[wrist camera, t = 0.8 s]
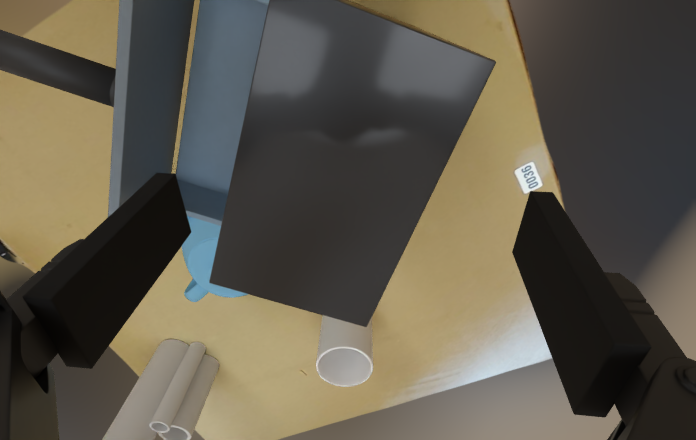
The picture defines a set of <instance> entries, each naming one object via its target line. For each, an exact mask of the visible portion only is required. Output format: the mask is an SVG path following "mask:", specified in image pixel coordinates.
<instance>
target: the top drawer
mask: <svg viewBox="0 0 696 440" xmlns="http://www.w3.org/2000/svg"><path fill="white" fill-rule="evenodd" d="M268 4H269V0H200V4H199V12H198V19H197V26H196V33H195V40H194V48H193V55H192V62H191V69H190V76H189V83H188V91H187V98H186V105H185V112H184V119H183V127H182V134H181V141H180V148H179V155H178V162H177V170H176V177H177V181H178V185H179V188H180V192H181V196H182V199H183V203H184V207H185V210H186V214H187V216H190V217H193V218H196V219H199V220H203V221H206V222H209V223H213V224H216V225H219V226H221V224H222V219H223V215H224V210H225V205H226V201H227V196H228V191H229V187H230V182H231V177H232V173H233V168H234V163H235V159H236V154H237V149H238V145H239V140H240V135H241V130H242V126H243V121H244V116H245V112H246V107H247V102H248V98H249V93H250V88H251V84H252V79H253V74H254V70H255V65H256V60H257V56H258V51H259V46H260V41H261V37H262V32H263V27H264V23H265V18H266V13H267V9H268ZM193 6H194V0H120V2H119V21H118V39H117V58H116V69H114V68H111V67H108V66H105V65H103V64H100V63H97V62H94V61H91V60H88V59H85V58H82V57H79V56H76V55H73V54H70V53H67V52H64V51H61V50H58V49H56V48H53V47H50V46H47V45H44V44H41V43H38V42H35V41H32V40H29V39H26V38H23V37H20V36H17V35H14V34H11V33H8V32H5V31H3V30H0V70H2V71H5V72H8V73H11V74H14V75H17V76H20V77H24V78H27V79H30V80H33V81H36V82H39V83H42V84H45V85H48V86H51V87H54V88H57V89H60V90H63V91H66V92H69V93H72V94H75V95H78V96H81V97H84V98H87V99H91V100H94V101H97V102H100V103H103V104H106V105H109V106H112V107H114V115H113V134H112V152H111V171H110V190H109V209H108V217H109V216H110V215H111V214H112V213H114V212H115V211H116V210H117V209H118V208H119V207H120V206H121V205H122V204H123V203H124V202H125V201H127V200H128V199H129V198H130V197H131V196H132V195H133V194H134V193H135V192H136V191H137V190H138V189H140V188H141V187H142V186H143V185H144V184H145V183H146V182H147V181H148V180H149V179H150V178H151V177H153V176H154V175H155V174H156V173H169V174H171V171H172V164H173V156H174V149H175V141H176V133H177V126H178V118H179V111H180V103H181V96H182V88H183V81H184V73H185V66H186V58H187V51H188V43H189V36H190V28H191V21H192V13H193Z"/></svg>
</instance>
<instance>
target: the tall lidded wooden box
mask: <svg viewBox="0 0 696 440" xmlns="http://www.w3.org/2000/svg"><path fill="white" fill-rule="evenodd" d="M495 64H496V61H495V60H492V59H490V58H487V57H485V56H483V55H480V54H478V53H476V52H473V51H471V50H469V49H466V48H464V47H462V46H459V45H457V44H455V43H452V42H450V41H448V40H445V39H443V38H441V37H438V36H436V35H434V34H431V33H429V32H427V31H424V30H422V29H420V28H417V27H415V26H412V25H410V24H407V23H405V22H402V21H400V20H397V19H394V18H392V17H389V16H387V15H384V14H382V13H379V12H376V11H374V10H371V9H369V8H366V7H364V6H361V5H358V4H356V3H353V2H351V1H348V0H269V4H268V9H267V13H266V18H265V23H264V27H263V32H262V37H261V41H260V46H259V51H258V56H257V60H256V65H255V70H254V74H253V79H252V84H251V88H250V93H249V98H248V102H247V107H246V112H245V116H244V121H243V126H242V130H241V135H240V140H239V145H238V149H237V154H236V159H235V163H234V168H233V173H232V177H231V182H230V187H229V191H228V196H227V201H226V205H225V210H224V215H223V219H222V224H221V229H220V234H219V238H218V243H217V248H216V252H215V257H214V262H213V266H212V271H211V276H210V280H209V283H211V284H215V285H218V286H222V287H225V288H229V289H232V290H236V291H239V292H243V293H246V294H250V295H253V296H257V297H261V298H264V299H268V300H271V301H275V302H278V303H282V304H285V305H289V306H292V307H296V308H299V309H303V310H307V311H310V312H314V313H317V314H321V315H324V316H328V317H331V318H335V319H338V320H342V321H345V322H349V323H353V324H356V325H360V326H363V327H367V326H368V323H369V321H370V319H371V317H372V315H373V313H374V311H375V309H376V307H377V305H378V303H379V301H380V299H381V297H382V295H383V293H384V291H385V289H386V287H387V285H388V283H389V281H390V278H391V276H392V274H393V272H394V270H395V268H396V266H397V264H398V262H399V260H400V258H401V256H402V254H403V252H404V250H405V248H406V246H407V244H408V242H409V240H410V238H411V236H412V234H413V231H414V229H415V227H416V225H417V223H418V221H419V219H420V217H421V215H422V213H423V211H424V209H425V207H426V205H427V203H428V201H429V199H430V197H431V195H432V193H433V191H434V189H435V186H436V184H437V182H438V180H439V178H440V176H441V174H442V172H443V170H444V168H445V166H446V164H447V162H448V160H449V158H450V156H451V154H452V152H453V150H454V148H455V146H456V144H457V141H458V139H459V137H460V135H461V133H462V131H463V129H464V127H465V125H466V123H467V121H468V119H469V117H470V115H471V113H472V111H473V109H474V107H475V105H476V103H477V101H478V99H479V96H480V94H481V92H482V90H483V88H484V86H485V84H486V82H487V80H488V78H489V76H490V74H491V72H492V70H493V68H494V66H495Z"/></svg>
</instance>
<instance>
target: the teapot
mask: <svg viewBox="0 0 696 440" xmlns="http://www.w3.org/2000/svg"><path fill="white" fill-rule="evenodd" d="M187 218H188V221H189V225H190V229H191V234H190V235H189V236H188V238H187V239H186V240H185V242H184V243H183V245H182V251H183V256H184V259H185V263H186V266H187V268H188V270H189V272H190V274H191V276H192V277H193V280H192V281H191V283H190V284H189V285H188V287H187V288H186V290H185V292H184V294H185V297H186V298H187V299H188V300H190V301H192V302H197V301H199V300H200V299H202V298H203V297H204V296H205V295H206V294H207V293H208V292H210V293H212V294H215V295H218V296H222V297H240V296H244V295H248V294H246V293H243V292H239V291H236V290H232V289H229V288H225V287H222V286H218V285H215V284H211V283H209V280H210V276H211V271H212V266H213V262H214V257H215V252H216V248H217V243H218V238H219V234H220V229H221V226H219V225H216V224H213V223H209V222H206V221H203V220H199V219H196V218H193V217H190V216H187Z"/></svg>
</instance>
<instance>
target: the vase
mask: <svg viewBox="0 0 696 440" xmlns="http://www.w3.org/2000/svg"><path fill="white" fill-rule="evenodd" d="M205 351H206V347H205V345H204V344H202V343H199V342H193V343H191V344H190V346H189V345H188V344H186V343H184V342H183V341H180V340H176V339H168V340H165V341H163V342H161V343H160V345H159V346H158V348H157V349H156V351H155V353H154V354H153V356H152V358H151V359H150V361H149V363H148V364H147V366H146V368H145V369H144V371H143V373H142V374H141V376H140V378H139V379H138V381H137V383H136V384H135V386H134V388H133V389H132V391H131V393H130V394H129V396H128V398H127V399H126V401H125V403H124V404H123V406H122V408H121V409H120V411H119V413H118V414H117V416H116V418H115V420H114V421H113V423H112V424H111V426H110V428H109V429H108V431H107V433H106V434H105V436H104V438H103V439H102V440H154V438H155V436H156V434H157V432H158V434H159V435H160V437H162V438H163V439H165V440H190V439H191V436H192V434H193V431H194V429H195V426H196V424H197V421H198V419H199V416H200V414H201V411H202V409H203V406H204V404H205V401H206V399H207V396H208V394H209V391H210V389H211V386H212V384H213V381H214V379H215V376H216V374H217V371H218V369H219V362H218V361H217V360H216V359H215V358H214V357H212V356H209V355H204V353H205Z"/></svg>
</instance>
